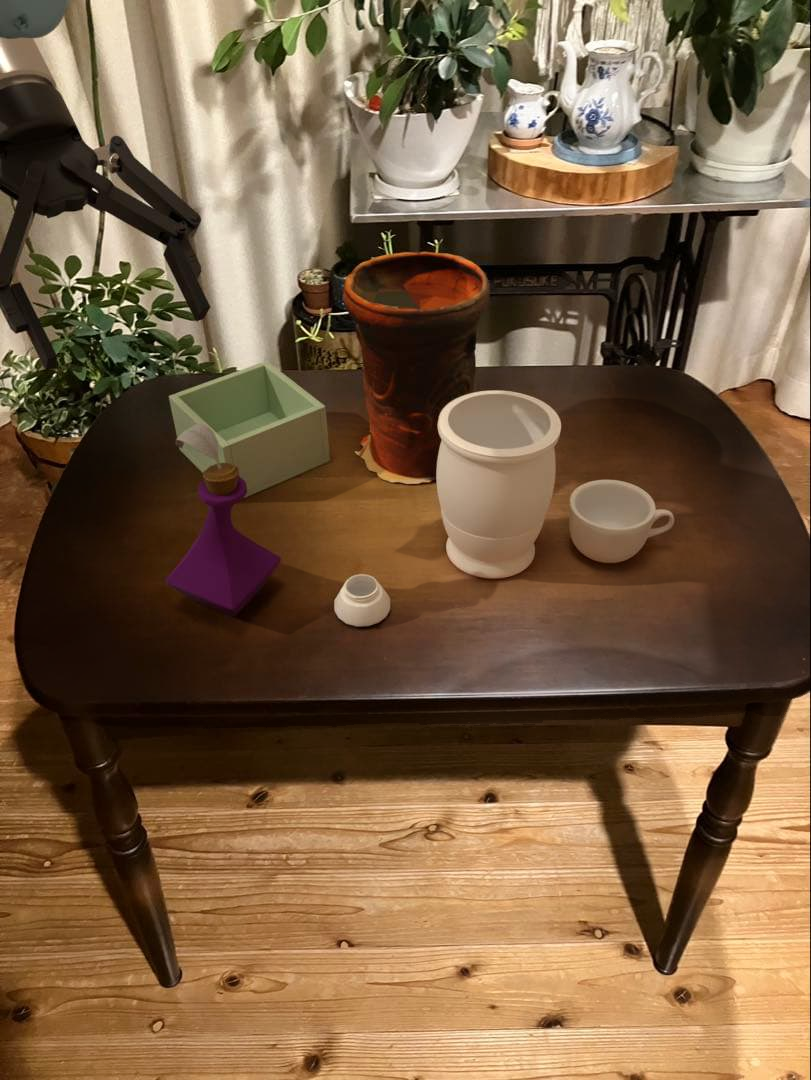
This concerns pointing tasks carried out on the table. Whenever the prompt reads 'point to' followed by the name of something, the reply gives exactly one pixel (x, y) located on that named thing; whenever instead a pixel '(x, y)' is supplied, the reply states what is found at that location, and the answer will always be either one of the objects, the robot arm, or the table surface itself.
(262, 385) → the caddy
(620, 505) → the teacup
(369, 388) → the vessel
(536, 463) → the jar
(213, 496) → the perfume bottle
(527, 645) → the table surface
